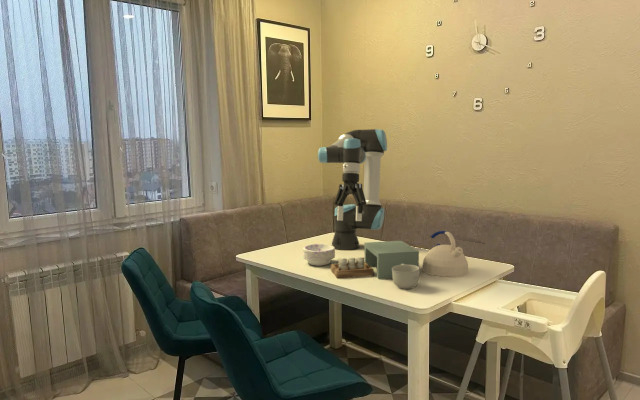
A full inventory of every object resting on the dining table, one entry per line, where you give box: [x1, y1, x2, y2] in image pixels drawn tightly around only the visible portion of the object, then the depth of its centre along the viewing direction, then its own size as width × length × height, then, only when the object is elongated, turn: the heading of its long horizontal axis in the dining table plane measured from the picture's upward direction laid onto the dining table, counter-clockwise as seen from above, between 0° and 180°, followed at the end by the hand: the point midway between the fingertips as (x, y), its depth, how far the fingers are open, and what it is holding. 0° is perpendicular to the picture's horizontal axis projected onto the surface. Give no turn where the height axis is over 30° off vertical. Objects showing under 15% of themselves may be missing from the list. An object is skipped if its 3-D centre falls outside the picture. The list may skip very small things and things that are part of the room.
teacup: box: [392, 264, 420, 290], centre depth 194 cm, size 14×11×8 cm
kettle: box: [421, 230, 469, 278], centre depth 214 cm, size 20×21×18 cm
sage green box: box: [364, 240, 420, 280], centre depth 215 cm, size 22×18×11 cm
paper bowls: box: [302, 243, 336, 267], centre depth 230 cm, size 15×15×8 cm
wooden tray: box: [330, 256, 374, 279], centre depth 212 cm, size 12×16×7 cm
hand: (349, 220), depth 213 cm, fingers open, 13 cm apart
